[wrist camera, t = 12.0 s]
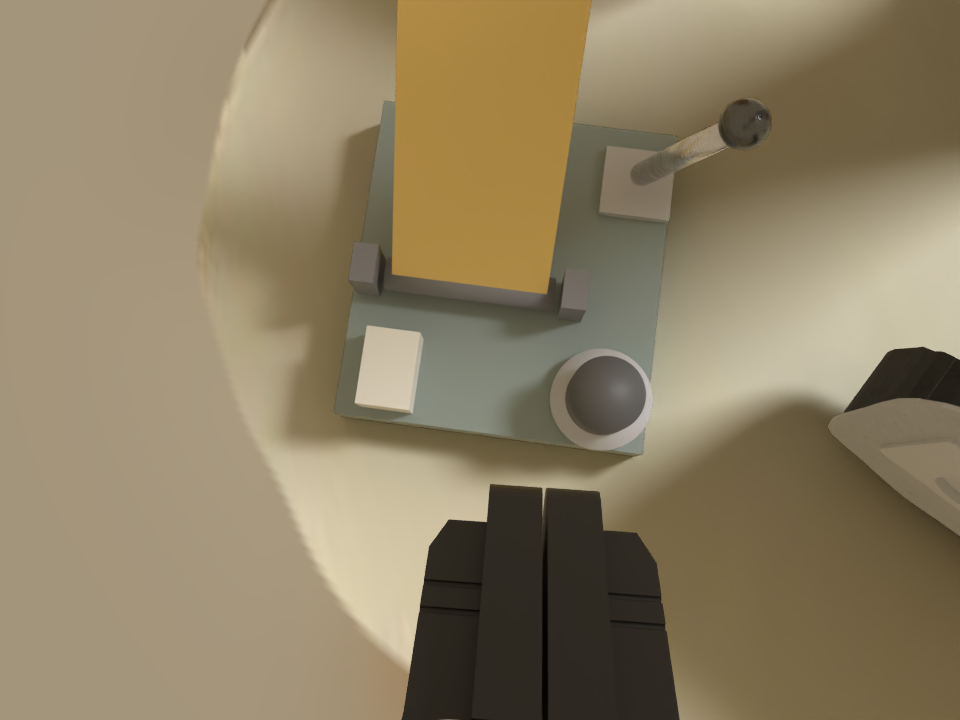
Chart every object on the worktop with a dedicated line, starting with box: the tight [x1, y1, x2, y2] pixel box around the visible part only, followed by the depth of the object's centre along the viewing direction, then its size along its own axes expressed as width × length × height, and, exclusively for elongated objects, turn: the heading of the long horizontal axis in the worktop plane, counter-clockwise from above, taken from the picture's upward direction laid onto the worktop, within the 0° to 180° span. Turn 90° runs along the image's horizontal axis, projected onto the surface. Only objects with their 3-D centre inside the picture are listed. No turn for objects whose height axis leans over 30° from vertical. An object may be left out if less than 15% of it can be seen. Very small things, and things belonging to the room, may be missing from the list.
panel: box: [334, 101, 677, 456], centre depth 36 cm, size 14×13×4 cm
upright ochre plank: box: [384, 0, 592, 311], centre depth 32 cm, size 1×7×15 cm
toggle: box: [630, 98, 772, 186], centre depth 33 cm, size 2×2×8 cm
